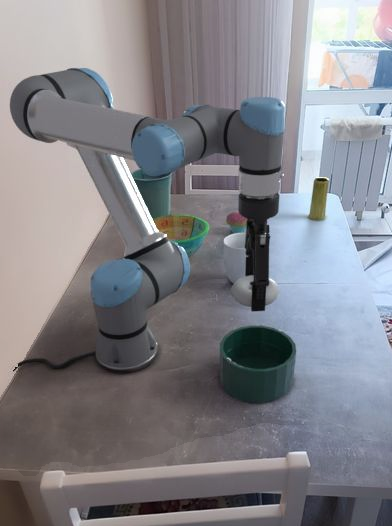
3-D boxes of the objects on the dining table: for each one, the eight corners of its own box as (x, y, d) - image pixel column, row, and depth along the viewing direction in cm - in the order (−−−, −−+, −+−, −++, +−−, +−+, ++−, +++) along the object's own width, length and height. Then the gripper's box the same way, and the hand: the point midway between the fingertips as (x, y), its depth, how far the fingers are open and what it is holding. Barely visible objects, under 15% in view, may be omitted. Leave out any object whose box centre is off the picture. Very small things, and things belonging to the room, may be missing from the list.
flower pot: (125, 214, 193) (120, 173, 183) (157, 203, 201) (154, 163, 192) (151, 225, 183) (147, 183, 173) (183, 213, 191) (181, 172, 182)
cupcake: (253, 229, 177) (254, 197, 170) (242, 238, 172) (243, 205, 164) (233, 225, 181) (233, 193, 174) (221, 233, 175) (221, 201, 168)
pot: (248, 413, 102) (249, 381, 97) (206, 371, 114) (205, 341, 108) (307, 384, 109) (312, 353, 103) (262, 347, 120) (264, 317, 115)
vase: (326, 220, 182) (331, 182, 173) (310, 220, 182) (314, 182, 173) (323, 213, 186) (328, 176, 178) (307, 214, 187) (311, 177, 178)
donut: (223, 304, 101) (268, 314, 97) (222, 289, 99) (268, 299, 95) (243, 282, 108) (285, 291, 104) (243, 268, 106) (286, 277, 102)
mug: (275, 287, 144) (278, 246, 136) (245, 298, 139) (247, 257, 131) (244, 268, 154) (245, 229, 146) (216, 278, 149) (215, 238, 141)
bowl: (171, 278, 150) (169, 249, 144) (130, 255, 163) (126, 227, 157) (223, 255, 161) (223, 227, 155) (180, 235, 175) (179, 209, 169)
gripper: (291, 215, 80) (281, 325, 93) (269, 172, 98) (264, 270, 111) (246, 217, 80) (242, 327, 93) (232, 174, 98) (231, 272, 111)
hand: (254, 296), depth 102 cm, fingers closed on donut, 10 cm apart
